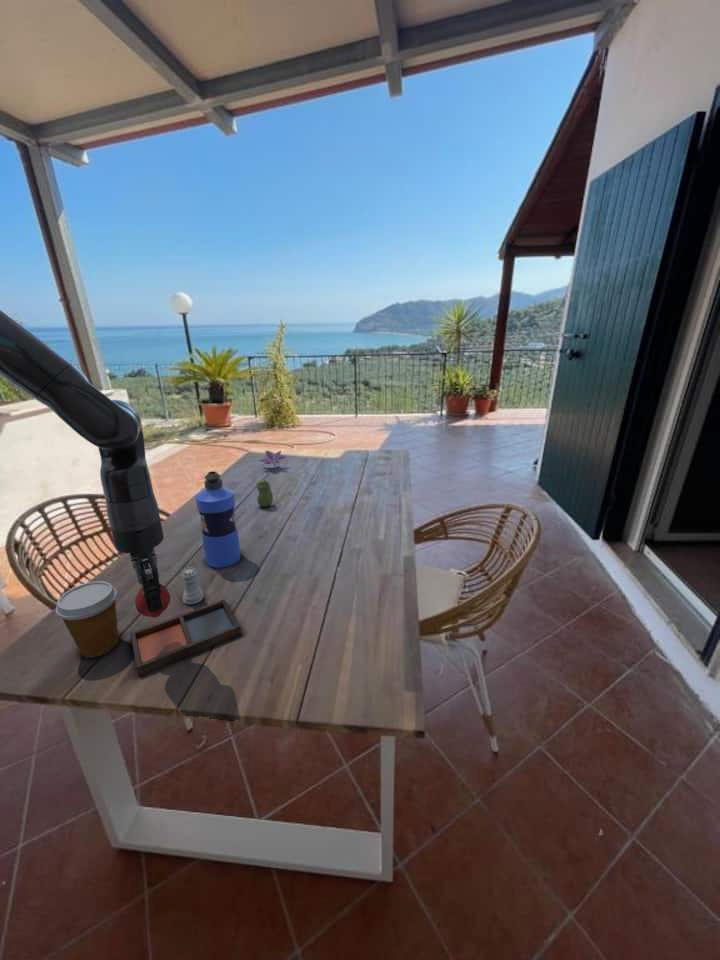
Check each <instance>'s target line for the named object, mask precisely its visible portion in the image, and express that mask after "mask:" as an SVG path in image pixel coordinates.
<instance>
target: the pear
mask: <svg viewBox="0 0 720 960" xmlns="http://www.w3.org/2000/svg"><path fill="white" fill-rule="evenodd" d="M256 489H257V490H258V495H257V498H256V501H257V504H258V505H259V506H260V507H263V508H267V507H269V506H271V505H272V503H273V502H274V501H273V500H274V494H273V491H272V490H271V484H270V483H269V481H268V479H262V480H259V481H258V482H257V484H256Z"/></svg>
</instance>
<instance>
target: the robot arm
mask: <svg viewBox="0 0 720 960" xmlns="http://www.w3.org/2000/svg"><path fill="white" fill-rule="evenodd" d="M0 376H1V377H3V379H5V380H6V381H8V382H10V383H11V384H12V385H14V386H16V387H17V388H19V389H20V390H21V391H23V392H24V393H26V394H27V395H29V396H30V397H32V398H33V399H35V400H36V401H37V402H39V403H41V404H42V405H44V406H45V407H47V408H49V409H50V410H51V411H52V412H54V414H55V415H56V416H57V417H58V418H59V419H60V420H62V422H64V423H65V424H66V425H67V426H68V427H70V428H71V429H72V430H73V431H75V433H76V434H78V435H79V436H80V437H81V438H83V439H84V440H85V441H87V442H88V443H90V444H92V445H93V446H95V447H97V448H98V452H99V457H100V469H99V477H100V482H101V488H102V492H103V496H104V499H105V507H106V508H105V509H106V515H107V519H108V520H107V521H108V523H109V528H110V530H111V536H112V539H113V545H114V548H115V550H116V551H118V552H120V553H121V554H129V558H130V562H131V566H132V568H133V569H134V571H135V575H136V580H137V583H138V585H141V588H142V587H143V591H144V592H143V595H144V597H145V598H146V601H147V606H148V610H149V612H150V613H153V612H155V611H158V610H161V609H162V602H161V597H160V594H161V592H162V590H161V589H160V584H161V583H160V578H161V575H160V571H159V565H158V562H159V560H158V556H157V552H156V550H155V548H156V547H157V546H159V545H160V544H161V543H162V542H163V540H164V531H163V526H162V520H161V516H160V511H159V505H158V501H157V499H156V496H155V492H154V488H153V483H152V479H151V473H150V469H149V467H148V463H147V458H146V457H147V456H146V445H145V437H144V431H143V423H142V418H141V416H140V414H139V412H138V411H137V409H136V408H135V407H133V405H131V404H129V403H128V402H125V401H123V400H120V399H110V397H108V396H107V395H106V394H104V393H103V392H102V391H101V390H99V389H98V388H97V387H95V386H94V385H93V384H91V382H90V380H89V379H88V377H87V376H86V374H85V373H84V372H83V371H82V370H81V369H79V368H78V367H77V366H75V364H73V363H72V362H70V361H69V360H68V359H66V358H65V357H64V356H63V355H62V354H60V353H58V352H57V351H56V350H54V349H53V348H52V347H51V346H50V345H48V344H47V343H46V342H44V341H42V340H41V339H40V338H39V337H37V336H36V335H35V334H33V332H30V331H29V330H28V329H26V328H25V327H24V326H23V325H21V324H20V323H18V322H17V321H16V320H15V319H13V318H12V317H10V316H9V315H8V314H6V313H5V312H4V311H2V310H1V309H0ZM159 583H160V584H159ZM153 586H155V587H153ZM150 587H151V588H150Z"/></svg>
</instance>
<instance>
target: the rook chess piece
mask: <svg viewBox="0 0 720 960" xmlns="http://www.w3.org/2000/svg"><path fill="white" fill-rule="evenodd" d="M197 574H198V571H197V570H196V568H195V567H193V566H191V567H189V566H188V567H186V568H183V570H182V573H181V577H182V578H183V582H184V591H183V594H182V598H183V599H182V601H183V603H184V604H186V605H189V606H192V605H193V606H194V605H197V604H198V603H200V602H202V600H203V599H204V596H205V595H204V592H203V589H202V588H201V587H200V586H199V584H198V581H197V580H198V577H197V576H196V575H197Z"/></svg>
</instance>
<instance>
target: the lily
mask: <svg viewBox="0 0 720 960" xmlns="http://www.w3.org/2000/svg"><path fill="white" fill-rule="evenodd" d="M264 455H265V457H264V458H262V459H260V460H259V462H261V463H263V465H264V464H270V465H273V464H274V467H276V465H275V463H279V464H280V461H281V460H284V459H287V458H288V455H284V454H282V450H279V451H276V452H275V453H274V452H272V451H270V450H265V451H264ZM271 463H272V464H271ZM274 469H275V468H274ZM275 472H276V473H277V468H276V469H275Z"/></svg>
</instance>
